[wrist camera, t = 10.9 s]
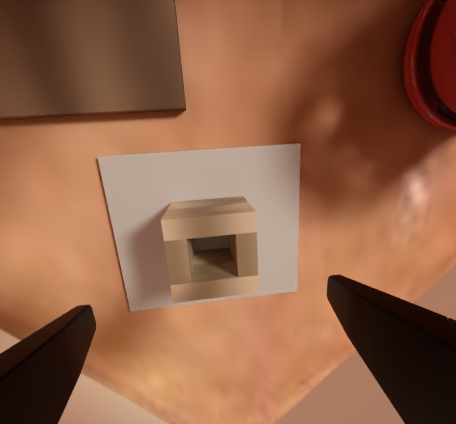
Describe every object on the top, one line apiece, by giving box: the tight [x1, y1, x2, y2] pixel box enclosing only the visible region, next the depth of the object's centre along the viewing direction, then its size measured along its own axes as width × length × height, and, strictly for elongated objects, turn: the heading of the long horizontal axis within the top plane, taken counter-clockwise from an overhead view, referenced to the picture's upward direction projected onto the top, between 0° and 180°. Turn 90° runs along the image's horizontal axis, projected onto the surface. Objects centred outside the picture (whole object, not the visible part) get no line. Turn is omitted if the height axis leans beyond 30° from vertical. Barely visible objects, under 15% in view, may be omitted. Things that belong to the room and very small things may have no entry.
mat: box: [97, 143, 301, 312], centre depth 20 cm, size 16×14×1 cm
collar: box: [161, 196, 259, 303], centre depth 17 cm, size 6×6×5 cm
